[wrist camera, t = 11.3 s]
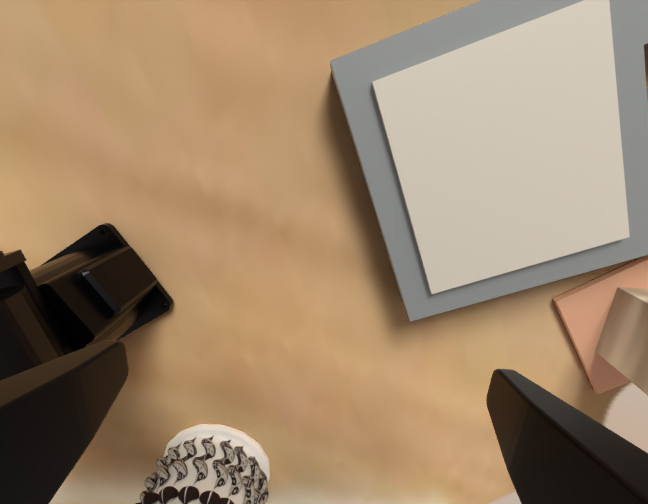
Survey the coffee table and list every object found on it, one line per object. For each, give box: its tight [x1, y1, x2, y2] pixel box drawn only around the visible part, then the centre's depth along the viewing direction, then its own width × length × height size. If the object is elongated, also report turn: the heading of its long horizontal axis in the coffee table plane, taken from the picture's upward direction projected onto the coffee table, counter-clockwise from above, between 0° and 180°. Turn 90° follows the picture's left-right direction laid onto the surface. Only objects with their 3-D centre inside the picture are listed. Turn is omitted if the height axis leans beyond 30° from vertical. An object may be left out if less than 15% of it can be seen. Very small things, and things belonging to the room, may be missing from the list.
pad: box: [553, 255, 648, 395], centre depth 22 cm, size 8×8×1 cm
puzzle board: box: [330, 0, 648, 322], centre depth 17 cm, size 21×14×3 cm, turn 109°
